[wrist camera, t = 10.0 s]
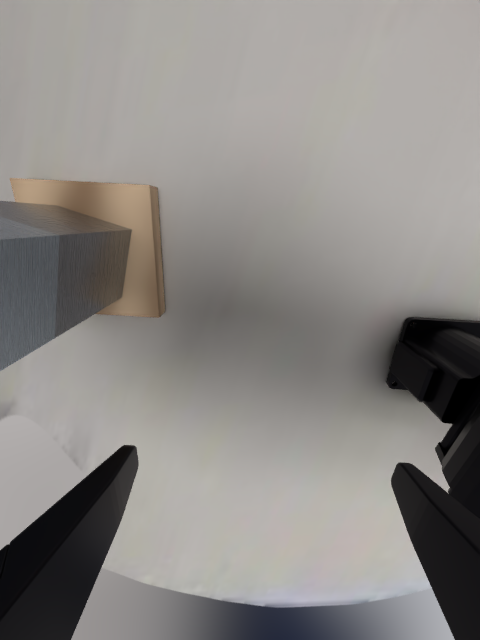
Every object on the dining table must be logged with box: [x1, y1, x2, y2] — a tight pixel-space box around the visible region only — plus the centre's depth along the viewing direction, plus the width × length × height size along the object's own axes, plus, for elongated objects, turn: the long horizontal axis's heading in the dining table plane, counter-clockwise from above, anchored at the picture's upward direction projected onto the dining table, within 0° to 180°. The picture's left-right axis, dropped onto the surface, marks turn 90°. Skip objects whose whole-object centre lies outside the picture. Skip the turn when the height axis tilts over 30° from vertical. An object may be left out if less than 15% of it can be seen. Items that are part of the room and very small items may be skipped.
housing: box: [0, 201, 132, 371], centre depth 12 cm, size 5×5×13 cm
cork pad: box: [10, 178, 165, 318], centre depth 19 cm, size 9×9×2 cm
